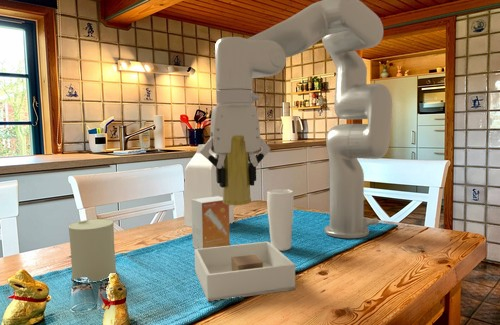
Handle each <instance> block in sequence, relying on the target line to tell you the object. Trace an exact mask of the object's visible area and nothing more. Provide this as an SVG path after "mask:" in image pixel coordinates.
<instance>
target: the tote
mask: <svg viewBox="0 0 500 325" xmlns="http://www.w3.org/2000/svg"><path fill="white" fill-rule="evenodd" d="M247 255H256V256H257V257H258V258H259V259H260V260H261V261H262V262H263V267H262V268H254V269H246V270H238V271H232V262H231V257H238V256H247ZM194 271H195V275H196V276H197V279H198V282H199V284H200V286H201V289H202V291H203V293H204V295H205V296H204V297H205V298H206V300H207V302H208V303H210V302H209V301H211V302H215V301H214V300H218V301H221V300H220V299H225V300H227V299H226V298H232V297H239V296H240V297H239V298H245V297H251V296H252V297H253V296H258V295H260V296H261V295H266V294H267V295H268V294H273V293H281V292H287V291H294V290H296V263H294V262H293V261H292V260H290V259H289V258H288V257H287V256H286V255H284V253H282V251H279V250H278V249H276V248H275V247H274V246H273V245H272V244H271V242H269V241H261V242H258V241H257V242H252V243H242V244H230V246H221V247H211V248H202V249H196V248H194ZM241 296H242V297H241ZM232 299H233V298H232Z"/></svg>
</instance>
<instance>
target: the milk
mask: <svg viewBox="0 0 500 325" xmlns="http://www.w3.org/2000/svg"><path fill="white" fill-rule="evenodd" d="M204 145H205V144H198V145H197V149H196V152H195V153H194V155H193V156H192V158H191V159H190V160H189V162H188V163H187V165H186V166H185V169H184V184H183V186H184V187H183V188H184V190H183V191H184V192H183V193H184V196H183V198H184V199H183V204H184V205H183V226H184V227H189V228H192V201H191V200H192V199H200V198H206V197H215V196H219V197H223V188H222V187H220V186H219V183H217V179H216V167H215V166H214V165H213V164H212V163H211V162H210V161H209V160H208V159H207V158H205V157H204V156H203V155H202V154H201V153H200V150H201V149H202V147H203V146H204ZM209 153H210V154H211V155H212V156H214V157H215V158H216V157H217V154H218V153H214V152H212V151H211V148H210V150H209ZM233 222H234V223H235V212H234V205H229V225H231V224H233ZM230 223H231V224H230Z"/></svg>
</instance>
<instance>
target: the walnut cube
mask: <svg viewBox="0 0 500 325" xmlns="http://www.w3.org/2000/svg"><path fill="white" fill-rule="evenodd" d="M231 262H232V271H238V270H246V269H254V268H262V267H263V262H262V261H261V260H260V259H259V258H258V257H257V256H256V255H247V256H238V257H231Z"/></svg>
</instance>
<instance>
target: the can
mask: <svg viewBox="0 0 500 325" xmlns="http://www.w3.org/2000/svg"><path fill="white" fill-rule="evenodd" d="M114 226H115V225H114V220H111V219H106V218H95V219H94V218H93V219H85V220H80V221H75V222H73V223H70V224H69V225H68V234H69V244H70V245H69V246H70V257H71V258H70V261H71V281H72V280H74V279H76V278H80V277H88V278H89V281H91V282H93V281H100V280H102V279H104V278H107V277H108V276H109V274H110V273H116V274H117V269H116V268H117V266H116V250H115V237H114V236H115V234H114V232H115V231H114Z"/></svg>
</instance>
